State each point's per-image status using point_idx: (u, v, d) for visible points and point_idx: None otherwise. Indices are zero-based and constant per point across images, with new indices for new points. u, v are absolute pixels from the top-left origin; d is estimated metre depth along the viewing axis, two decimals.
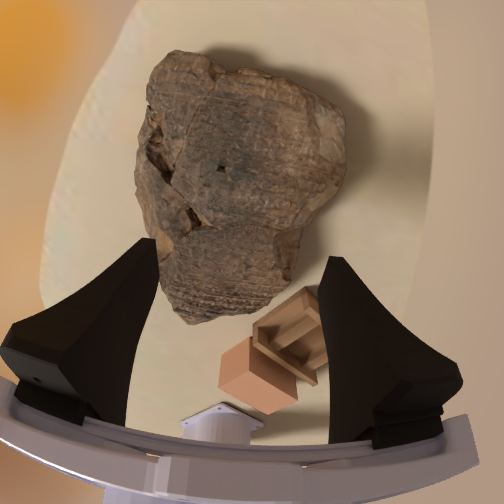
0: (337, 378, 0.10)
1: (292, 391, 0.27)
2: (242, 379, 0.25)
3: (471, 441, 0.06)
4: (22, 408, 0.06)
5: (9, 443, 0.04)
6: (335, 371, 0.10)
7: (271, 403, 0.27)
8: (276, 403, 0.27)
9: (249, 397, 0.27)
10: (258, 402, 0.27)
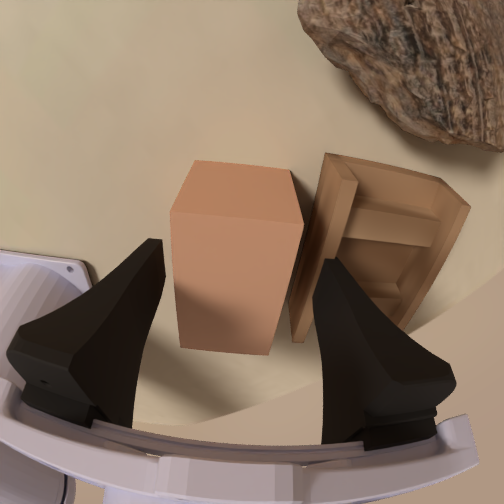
0: (330, 378, 0.10)
1: None
2: (259, 234, 0.09)
3: (471, 442, 0.06)
4: (22, 408, 0.06)
5: (9, 443, 0.04)
6: (328, 371, 0.10)
7: (220, 332, 0.12)
8: (228, 337, 0.12)
9: (203, 290, 0.11)
10: (202, 313, 0.11)
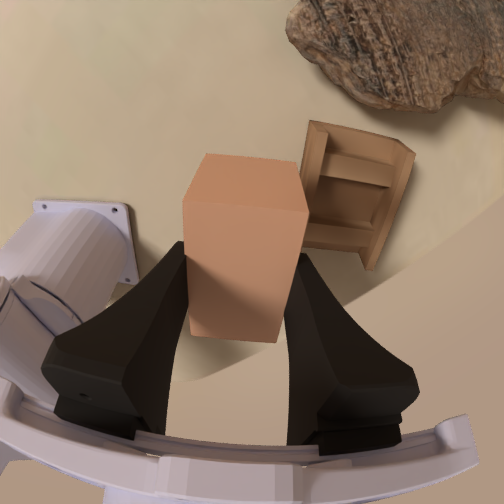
0: (294, 378, 0.10)
1: None
2: (267, 221, 0.10)
3: (471, 442, 0.06)
4: (22, 408, 0.06)
5: (9, 443, 0.04)
6: (293, 371, 0.10)
7: (229, 319, 0.13)
8: (237, 324, 0.13)
9: (213, 276, 0.11)
10: (212, 300, 0.12)
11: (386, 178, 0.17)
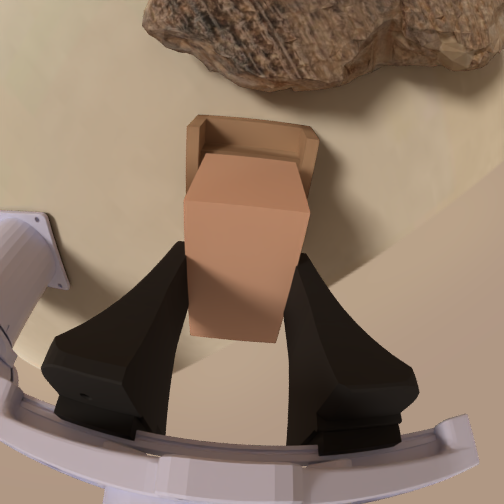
0: (294, 378, 0.10)
1: None
2: (268, 222, 0.10)
3: (471, 441, 0.06)
4: (22, 408, 0.06)
5: (9, 443, 0.04)
6: (293, 371, 0.10)
7: (229, 319, 0.13)
8: (237, 325, 0.13)
9: (214, 276, 0.11)
10: (212, 300, 0.12)
11: None
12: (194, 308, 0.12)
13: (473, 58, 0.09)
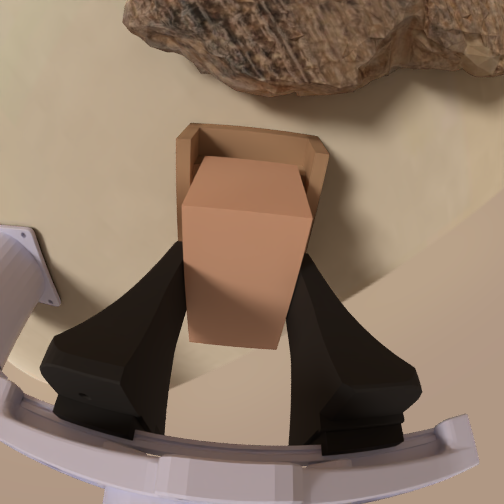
0: (296, 378, 0.10)
1: None
2: (269, 227, 0.09)
3: (471, 441, 0.06)
4: (22, 408, 0.06)
5: (9, 443, 0.04)
6: (295, 371, 0.10)
7: (229, 325, 0.12)
8: (237, 331, 0.12)
9: (213, 283, 0.11)
10: (212, 307, 0.12)
11: None
12: (193, 315, 0.12)
13: (498, 64, 0.07)
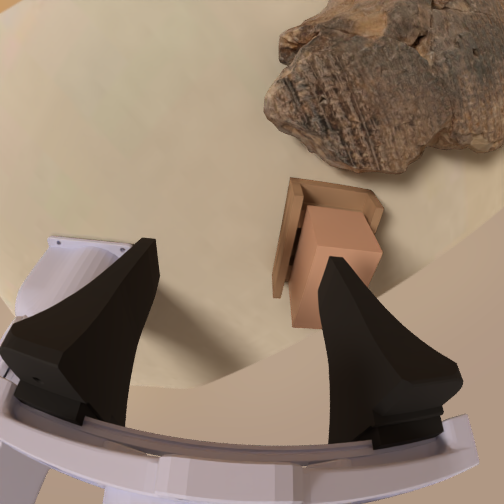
0: (337, 378, 0.10)
1: None
2: (360, 257, 0.16)
3: (471, 442, 0.06)
4: (22, 408, 0.06)
5: (9, 443, 0.04)
6: (335, 371, 0.10)
7: None
8: None
9: None
10: (316, 303, 0.19)
11: None
12: (302, 308, 0.19)
13: (492, 146, 0.14)
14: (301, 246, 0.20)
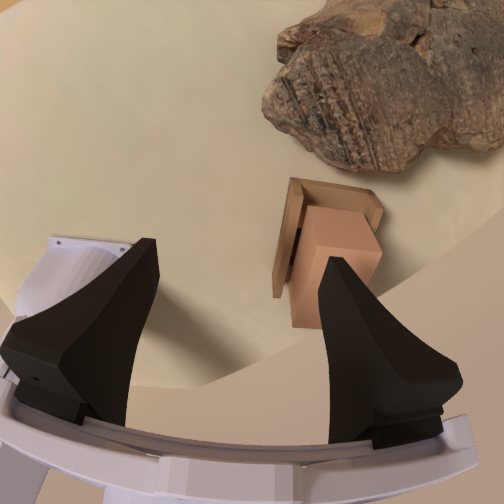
0: (337, 378, 0.10)
1: None
2: (360, 257, 0.16)
3: (471, 441, 0.06)
4: (22, 408, 0.06)
5: (9, 443, 0.04)
6: (335, 371, 0.10)
7: None
8: None
9: None
10: (316, 303, 0.19)
11: None
12: (302, 308, 0.19)
13: (491, 145, 0.14)
14: (301, 246, 0.20)
